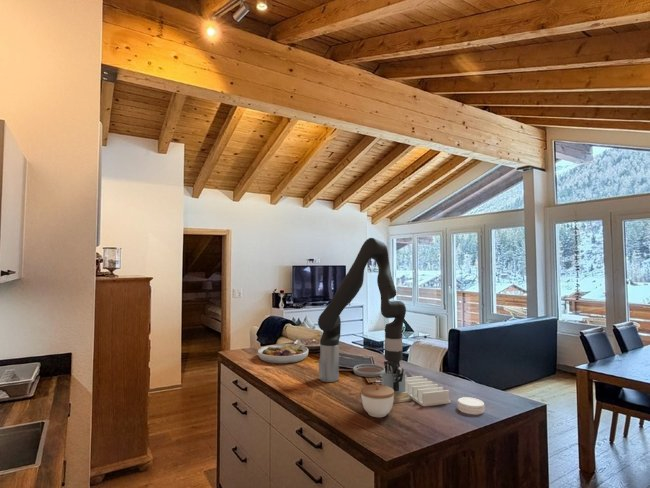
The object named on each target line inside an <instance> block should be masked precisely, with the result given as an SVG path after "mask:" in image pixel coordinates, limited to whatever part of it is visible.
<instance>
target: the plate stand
mask: <svg viewBox="0 0 650 488" xmlns="http://www.w3.org/2000/svg"><path fill="white" fill-rule="evenodd" d="M411 401H412V399H411V398H410V397H408V392H401V393H394V400H393V404H394V403H395V404H396V403H397V404H398V403H405V402H411Z"/></svg>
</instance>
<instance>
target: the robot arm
mask: <svg viewBox="0 0 650 488" xmlns="http://www.w3.org/2000/svg"><path fill="white" fill-rule="evenodd" d="M355 257H356V258H355V260H354V261H353V263H352V264H351V267H350V268H349V270H348V271H347V273H346V275H345V276H344V277H343V280H342V281H341V282H340V285H339V287H337V289H336V292H335V293H334V294H333V296H332V297H331V300H330V301H329V304H328V305H326V307H325V309H323V311H322V312H321V313H320V315H319V317H318V318H317V319H318V320H317V324H318V328H319V329H320V330H321V331H322V335H321V337H320V340H319V341H320V343H319V344H320V345H319V346H320V347H319V348H320V349H319V357H320V358H318V379H319V380H320V381H321V382H322V383H323V382H324V383H325V382H327V383H333V382H338V381H339V379H340V372H339V371H340V339H341V330H342V329H341V327H342V324H341V323H342V322H341V314H342V312H343V311H344V309H345V308H346V307H347V306H348V305H349V304H350V303H351V302H352V301H353V300H354V298H355V297H356V296H357V295H358V293H359V291H360V290H361V288H362V287H363V285H364V279H365V278H364V277H365V269H366V266H367V265H368V263H369V262H370V260H371V259H372V260H374V261H375V263H376V265H377V269H378V273H377V278H376V281H377V282H376V283H377V286H378V290H379V294H380V295H379V296H380V313H381V315H382V316H383V317H384V318H385V319H393V321H391V322H388V323H386V324H385V327H384V359H385V361H384V362H383V363H384V366H383V367H384V368H385V372H384V373H389V372H391V374H392V376H393V381H394V382H393V390H394V391H399V382H402V378H403V372H405V371H404V368H401V364H400V363H401V362H402V360H403V336H402V335H403V325H404V321H405V317H406V313H407V308H406V305H405V303H404V302H403V301H401V300H391V299H394V298H395V297H396V296H397V290H396V287H395V283H394V280H393V276H392V272H391V265H390V259H389V251H388V247H387V245H386V243H385V242H383V241H381V240H379V239H377V238H375V237H369V238H367V239H366V240H365V241H364V242H363V244H362V246H361V247H360V249H359V251H358V253H357V255H356V256H355ZM390 300H391V301H390ZM394 373H396V374H394ZM395 376H396V379H395Z"/></svg>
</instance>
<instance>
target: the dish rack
mask: <svg viewBox="0 0 650 488" xmlns="http://www.w3.org/2000/svg"><path fill="white" fill-rule="evenodd" d="M405 392H408V397H410V398H411V400H413V401H414V402H416V403H417V404H419V405H420V406H421V407H429V406H431V407H432V406H438V405H444V404H451V402H452V401H451V400H450V390H448V389H444V386H439V384H437V383H433V380H428V378H424V376H423V375H417V376H416V375H415V376H409V377H408V376H407V377H406V376H405Z"/></svg>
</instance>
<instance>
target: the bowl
mask: <svg viewBox="0 0 650 488" xmlns="http://www.w3.org/2000/svg"><path fill="white" fill-rule="evenodd" d="M308 355H309V348H308V347H306V346H304V345H300V344H287V343H285V344H273V345H266V346H263V347H260V348H259V349H257V356H258V357H259V358H260V360H262V361H263V362H266V363H271V364H280V365H281V364H292V363H298V362H300V361H303V360H305V359H306V358H307V357H308Z"/></svg>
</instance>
